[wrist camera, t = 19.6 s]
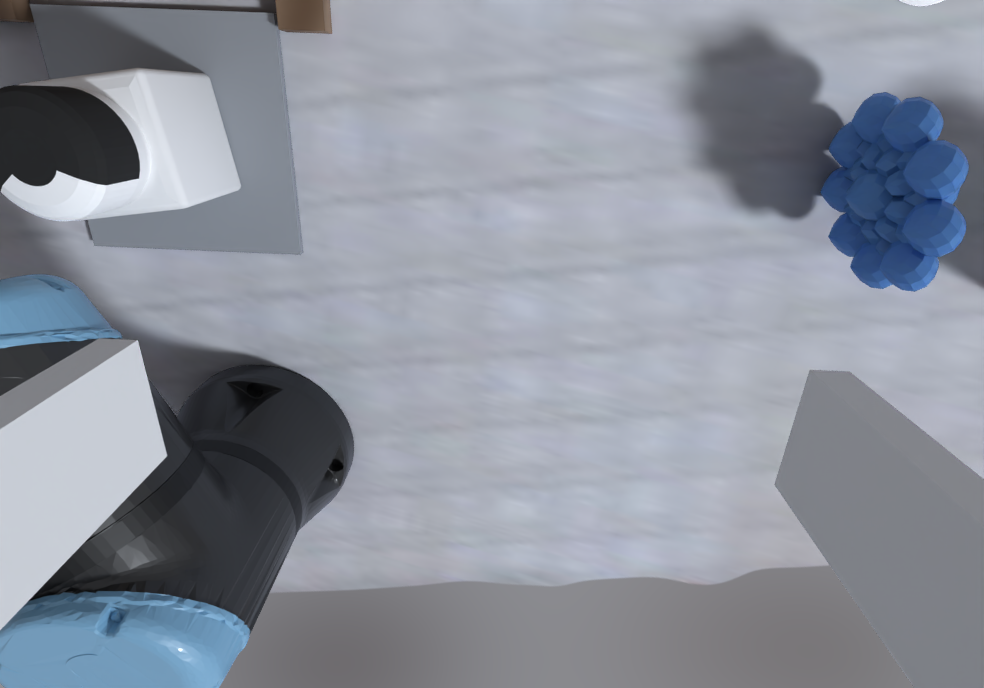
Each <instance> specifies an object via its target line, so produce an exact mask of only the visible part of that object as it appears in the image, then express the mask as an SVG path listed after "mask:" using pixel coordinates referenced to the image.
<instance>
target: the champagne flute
mask: <svg viewBox="0 0 984 688" xmlns="http://www.w3.org/2000/svg"><path fill="white" fill-rule="evenodd" d="M899 1H901V2H904V3H906V4H908V5H914V6H927V5H933V4H936V3H939V2H942V1H944V0H899Z"/></svg>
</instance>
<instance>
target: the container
mask: <svg viewBox="0 0 984 688" xmlns="http://www.w3.org/2000/svg"><path fill="white" fill-rule="evenodd" d="M240 188H241V183H240V180H239V177H238V173H237V170H236V166H235V163H234V159H233V156H232V153H231V149H230V146H229V142H228V139H227V135H226V132H225V129H224V125H223V122H222V118H221V115H220V111H219V108H218V105H217V101H216V98H215V94H214V91H213V88H212V84H211V81H210V78H209V76H207V75H206V74H204V73H194V72H182V71H170V70H158V69H146V68H132V69H125V70H117V71H110V72H103V73H95V74H88V75H80V76H73V77H66V78H58V79H51V80H44V81H36V82H29V83H21V84H19V85H13V86H7V87H3V88H1V89H0V192H1V193H2V194H4V195H5V196H6V197H7V198H8V199H9V200H11V201H12V202H13V203H15V204H16V205H17V206H19V207H20V208H22V209H24V210H25V211H27V212H29V213H31V214H33V215H36V216H38V217H41V218H44V219H48V220H53V221H72V220H76V221H80V220H89V219H98V218H106V217H115V216H124V215H132V214H141V213H150V212H158V211H167V210H176V209H185V208H188V207H191V206H194V205H197V204H200V203H203V202H206V201H208V200H211V199H214V198H217V197H220V196H223V195H226V194H229V193H232V192H235V191H238V190H239V189H240Z"/></svg>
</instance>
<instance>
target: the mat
mask: <svg viewBox="0 0 984 688" xmlns="http://www.w3.org/2000/svg"><path fill="white" fill-rule="evenodd" d="M30 8H31V11H32V15H33V19H34V23H35V26H36V30H37V34H38V38H39V41H40V45H41V49H42V52H43V56H44V60H45V64H46V67H47V71H48V75H49V79H50V80H51V79H58V78H66V77H73V76H80V75H88V74H95V73H103V72H110V71H117V70H125V69H132V68H146V69H158V70H170V71H182V72H194V73H204V74H206V75H207V76H209V78H210V81H211V84H212V88H213V91H214V94H215V98H216V101H217V105H218V108H219V111H220V115H221V118H222V122H223V125H224V129H225V132H226V135H227V139H228V142H229V146H230V149H231V153H232V156H233V159H234V163H235V166H236V170H237V173H238V177H239V180H240V183H241V188H240V189H239V190H238V191H235V192H232V193H229V194H226V195H223V196H220V197H217V198H214V199H211V200H208V201H206V202H203V203H200V204H197V205H194V206H191V207H188V208H185V209H176V210H167V211H158V212H150V213H141V214H132V215H124V216H115V217H106V218H98V219H89V220H88V224H89V228H90V231H91V235H92V239H93V243H94V246H108V247H131V248H155V249H178V250H202V251H226V252H249V253H273V254H296V255H301V254H302V253H303V245H302V236H301V227H300V218H299V209H298V200H297V190H296V181H295V172H294V163H293V154H292V145H291V135H290V126H289V117H288V108H287V99H286V90H285V80H284V71H283V62H282V53H281V44H280V35H279V29H278V20H277V14H275V13H261V12H234V11H207V10H180V9H153V8H126V7H99V6H72V5H45V4H30Z"/></svg>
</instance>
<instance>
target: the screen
mask: <svg viewBox="0 0 984 688" xmlns="http://www.w3.org/2000/svg"><path fill="white" fill-rule="evenodd" d="M275 2H276V11H277V20H278V29H279V30H282V31H286V32H300V33H327V34H332V25H331V11H330V0H275ZM0 21H6V22H33V23H34V19H33V15H32V11H31V8H30V4H29V0H0Z"/></svg>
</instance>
